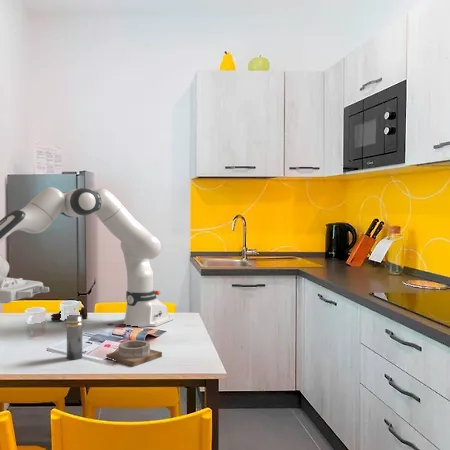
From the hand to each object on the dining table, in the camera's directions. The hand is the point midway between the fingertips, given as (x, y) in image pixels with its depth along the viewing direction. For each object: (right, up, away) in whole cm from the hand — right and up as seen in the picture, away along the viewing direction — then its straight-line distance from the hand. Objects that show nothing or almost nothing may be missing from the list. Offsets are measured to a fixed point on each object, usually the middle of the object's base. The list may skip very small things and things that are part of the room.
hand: (40, 292), depth 169 cm
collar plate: (+32, -22, -1) cm, 39 cm away
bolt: (-7, -20, +52) cm, 56 cm away
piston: (+12, -22, -1) cm, 25 cm away
